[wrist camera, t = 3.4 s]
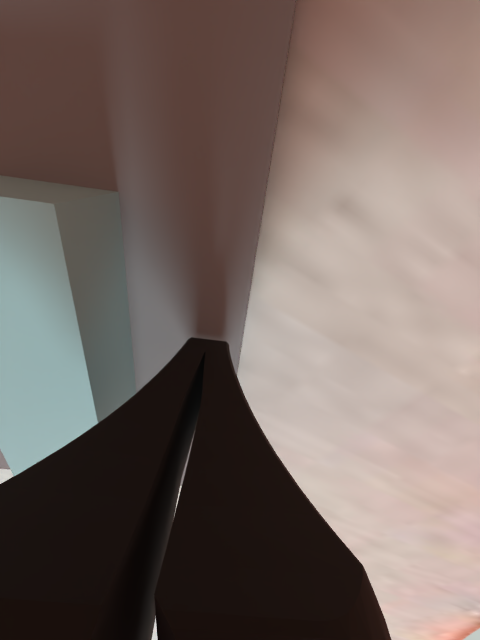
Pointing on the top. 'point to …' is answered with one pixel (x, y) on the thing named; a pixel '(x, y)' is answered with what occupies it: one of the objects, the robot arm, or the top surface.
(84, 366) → the t block
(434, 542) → the top surface
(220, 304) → the mat
